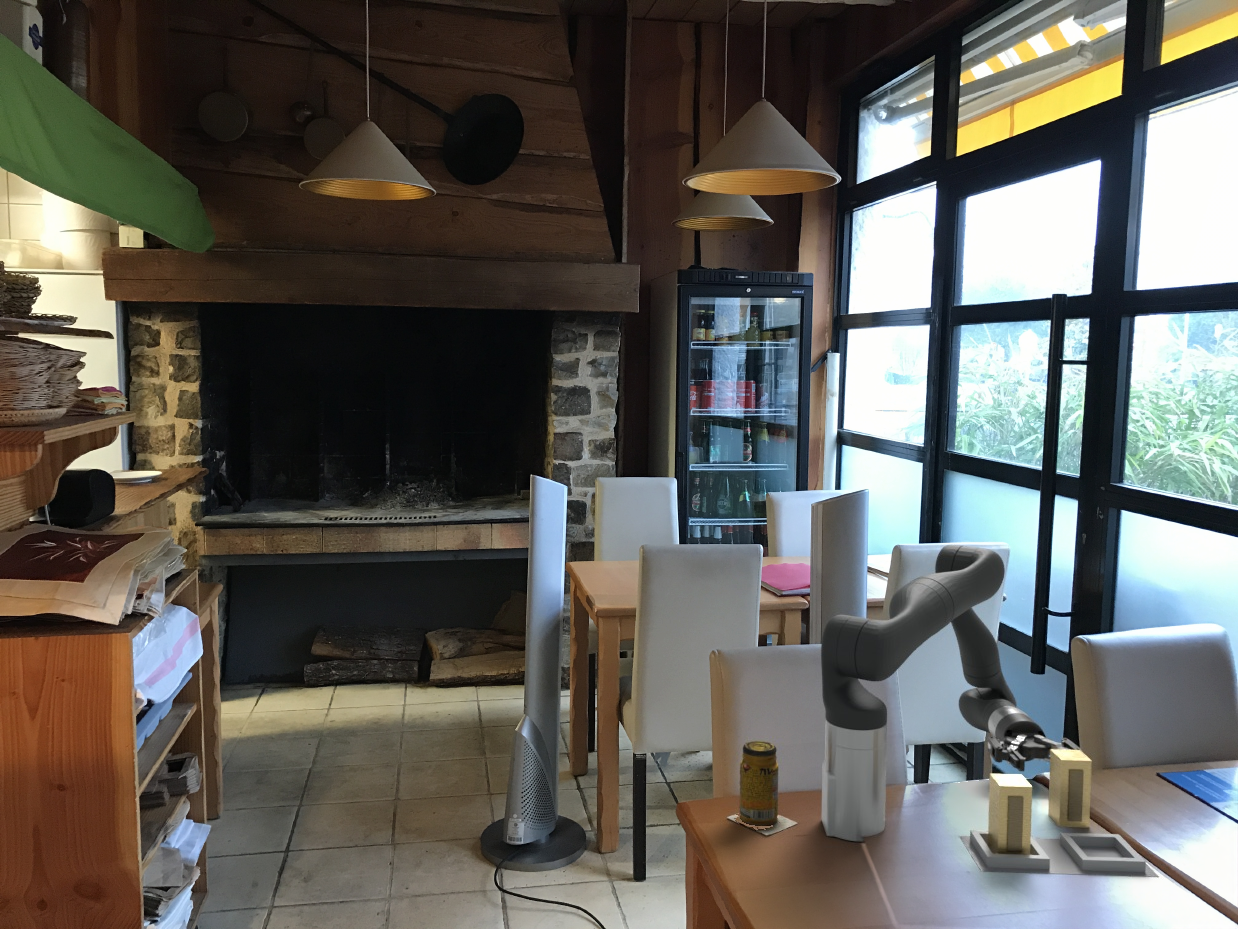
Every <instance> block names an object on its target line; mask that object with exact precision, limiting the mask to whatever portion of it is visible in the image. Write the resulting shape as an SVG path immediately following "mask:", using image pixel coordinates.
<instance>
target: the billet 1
mask: <svg viewBox="0 0 1238 929" xmlns="http://www.w3.org/2000/svg"><path fill="white" fill-rule="evenodd" d="M988 792H989V795H988V827H987V831H988V847H989V849H990V850H991V852H992V853H993V854H1015V855H1030V844H1031V835H1032V812H1033V811H1032V809H1033V808H1032V807H1033V806H1032V804H1033V786H1032V784H1030V782H1029V781H1028V780H1027V779H1026V778H1025V777H1024V775H1023V774H1022V773H1021V774H1020V773H989V790H988Z"/></svg>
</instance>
